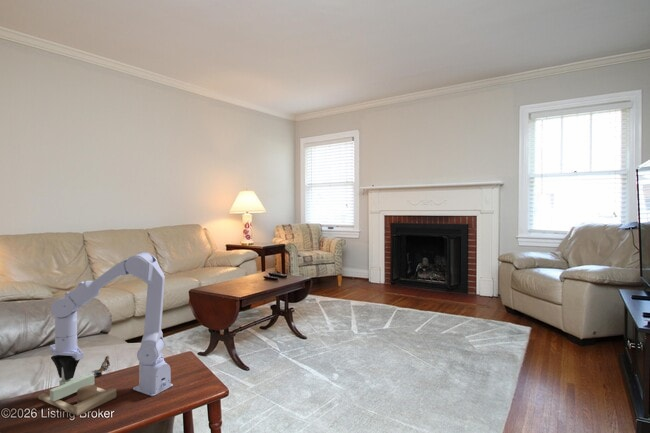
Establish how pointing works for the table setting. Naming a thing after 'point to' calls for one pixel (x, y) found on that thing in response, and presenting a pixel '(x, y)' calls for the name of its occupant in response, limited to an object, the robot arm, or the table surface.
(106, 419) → the table surface
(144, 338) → the robot arm
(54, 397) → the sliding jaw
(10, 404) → the table surface
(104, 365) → the brown figurine
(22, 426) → the table surface
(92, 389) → the walnut puck
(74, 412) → the frame
